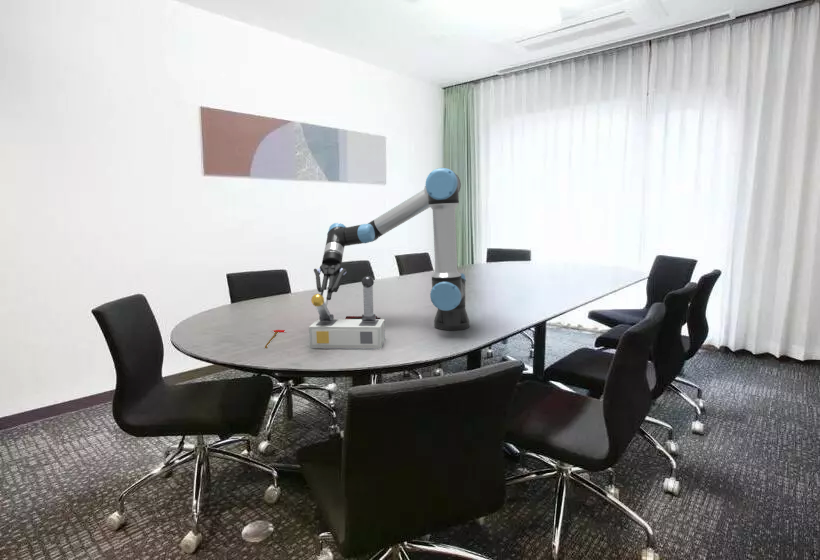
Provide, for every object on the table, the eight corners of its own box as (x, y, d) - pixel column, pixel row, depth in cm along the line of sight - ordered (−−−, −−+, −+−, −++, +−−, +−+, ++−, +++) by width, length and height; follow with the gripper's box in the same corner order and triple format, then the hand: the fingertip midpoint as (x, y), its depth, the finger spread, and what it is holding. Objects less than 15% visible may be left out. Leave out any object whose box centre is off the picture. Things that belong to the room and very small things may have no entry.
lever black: (376, 319, 166) (375, 275, 164) (374, 322, 162) (373, 276, 160) (363, 319, 167) (362, 275, 164) (361, 322, 162) (360, 276, 160)
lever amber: (334, 313, 167) (323, 291, 153) (332, 324, 165) (322, 302, 151) (321, 313, 168) (310, 291, 154) (320, 324, 166) (308, 302, 151)
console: (385, 339, 171) (384, 318, 170) (380, 349, 159) (379, 326, 158) (319, 338, 173) (318, 318, 172) (309, 348, 161) (308, 326, 160)
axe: (293, 331, 187) (271, 331, 188) (293, 329, 187) (271, 328, 188) (267, 350, 162) (241, 349, 163) (266, 347, 162) (241, 347, 163)
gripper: (350, 262, 178) (343, 312, 164) (319, 262, 179) (308, 312, 165) (347, 250, 172) (339, 300, 158) (314, 250, 173) (303, 301, 159)
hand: (323, 306), depth 162 cm, fingers closed
